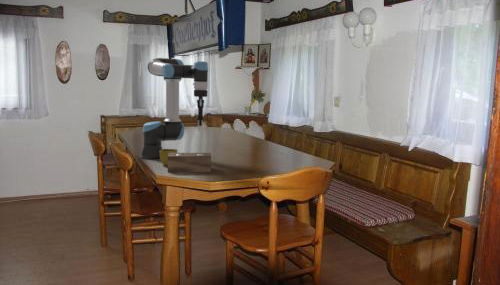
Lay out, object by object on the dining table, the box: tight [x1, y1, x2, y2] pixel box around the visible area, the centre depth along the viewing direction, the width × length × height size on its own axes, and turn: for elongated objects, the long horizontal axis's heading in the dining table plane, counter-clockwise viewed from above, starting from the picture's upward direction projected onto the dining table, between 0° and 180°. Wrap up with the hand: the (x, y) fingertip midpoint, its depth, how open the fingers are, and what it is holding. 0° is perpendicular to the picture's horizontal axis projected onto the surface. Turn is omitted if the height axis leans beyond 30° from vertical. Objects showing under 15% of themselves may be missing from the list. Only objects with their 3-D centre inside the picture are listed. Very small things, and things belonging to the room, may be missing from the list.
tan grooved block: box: [167, 152, 212, 173], centre depth 238 cm, size 12×24×9 cm, turn 97°
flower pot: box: [159, 148, 178, 166], centre depth 252 cm, size 9×9×9 cm
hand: (200, 131), depth 237 cm, fingers closed
